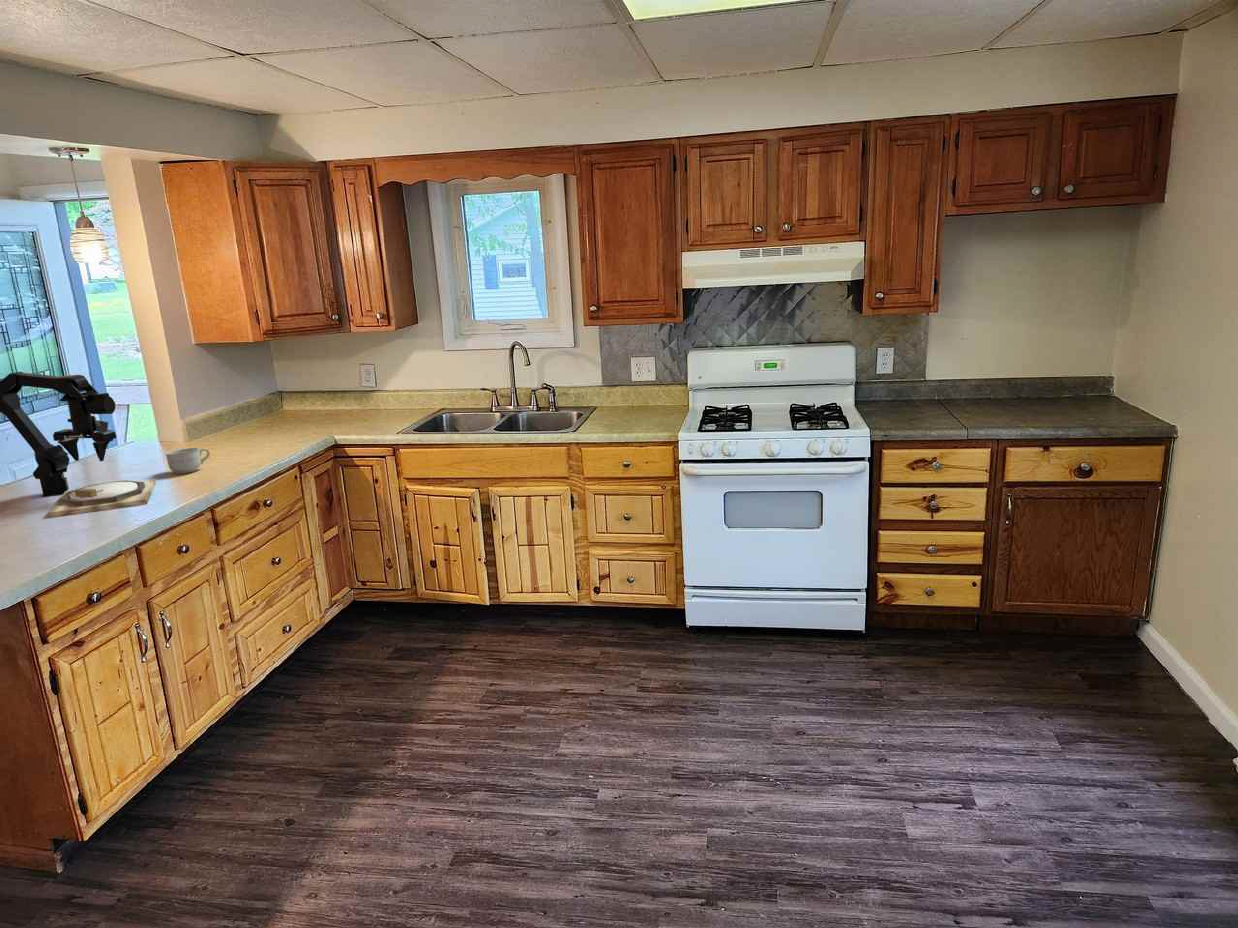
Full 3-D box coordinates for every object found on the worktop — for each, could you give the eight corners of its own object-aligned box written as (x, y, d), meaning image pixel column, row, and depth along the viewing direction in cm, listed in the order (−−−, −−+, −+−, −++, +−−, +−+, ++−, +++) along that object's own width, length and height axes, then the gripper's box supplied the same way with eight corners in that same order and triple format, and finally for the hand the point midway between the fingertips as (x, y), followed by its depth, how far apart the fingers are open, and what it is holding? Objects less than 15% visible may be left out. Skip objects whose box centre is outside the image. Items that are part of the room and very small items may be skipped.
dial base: (49, 517, 241) (46, 507, 240) (66, 495, 264) (64, 486, 263) (147, 503, 251) (145, 494, 250) (156, 483, 274) (154, 475, 273)
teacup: (167, 477, 282) (163, 455, 280) (170, 470, 292) (166, 449, 290) (211, 471, 287) (207, 450, 285) (213, 465, 297) (209, 444, 295)
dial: (105, 485, 268) (103, 475, 267) (151, 487, 264) (149, 476, 263) (55, 502, 251) (53, 491, 250) (104, 504, 246) (101, 493, 245)
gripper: (124, 410, 266) (132, 455, 270) (75, 409, 269) (84, 454, 273) (98, 416, 256) (107, 464, 260) (47, 415, 258) (57, 462, 263)
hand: (89, 460), depth 264 cm, fingers open, 9 cm apart
